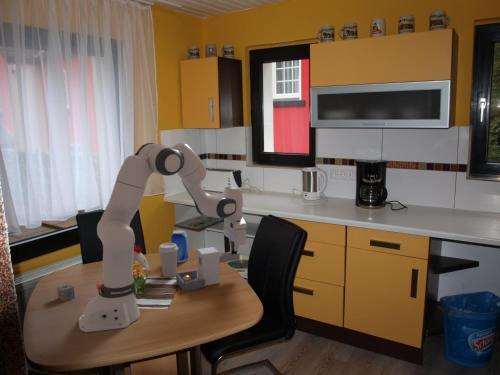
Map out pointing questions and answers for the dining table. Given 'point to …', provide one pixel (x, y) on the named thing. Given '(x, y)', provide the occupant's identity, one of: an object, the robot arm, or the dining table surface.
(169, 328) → the dining table surface
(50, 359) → the dining table surface
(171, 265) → the coffee cup
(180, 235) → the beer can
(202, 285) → the tray
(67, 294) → the grey cube with hole
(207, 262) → the block
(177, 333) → the dining table surface
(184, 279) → the copper ball
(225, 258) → the shaft
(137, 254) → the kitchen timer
